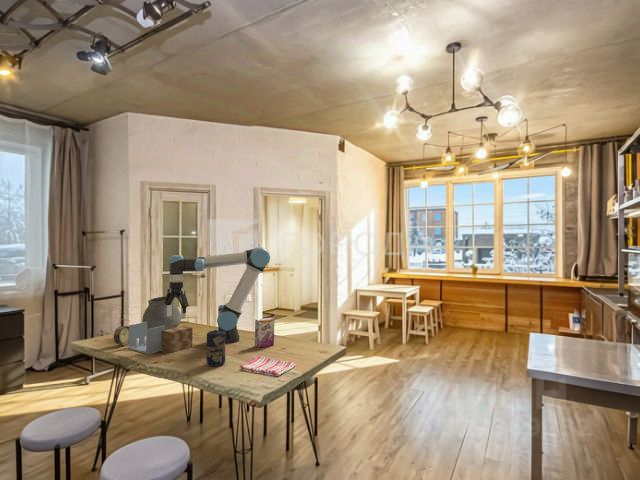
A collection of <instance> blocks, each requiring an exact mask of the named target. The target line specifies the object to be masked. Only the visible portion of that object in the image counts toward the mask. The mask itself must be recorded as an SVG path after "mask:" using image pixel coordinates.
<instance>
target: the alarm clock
mask: <svg viewBox="0 0 640 480" xmlns="http://www.w3.org/2000/svg"><path fill="white" fill-rule="evenodd" d="M122 321H125V319H123V318H122V319H121V320H120V325H121V326H118V327H117V328H116V329H115V330H114V332H113V340H114V343H115V344H117V345H118V348H120V346H121V345H124V346H125V345H129V325H124V324H125V322H123V323H122Z"/></svg>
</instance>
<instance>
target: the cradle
mask: <svg viewBox="0 0 640 480" xmlns="http://www.w3.org/2000/svg"><path fill="white" fill-rule="evenodd" d="M128 326H129V344H128V350H131V351H134V352H139V353H142V354H144V355H150V354H154V353H158V352H162V331H163V330H165V326H159V327H155V328H150V329H147V322H143V323H142V322H138V323H135V324H129V325H128Z"/></svg>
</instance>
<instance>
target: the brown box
mask: <svg viewBox="0 0 640 480" xmlns="http://www.w3.org/2000/svg"><path fill="white" fill-rule="evenodd" d="M191 348H193V327H191V326H187V325H182V326H178V327H177V328H172V329H168V330H163V331H162V351H161V352H163V353H167V354H170V355H171V354H174V353H177V352H180V351H184V350H185V351H186V350H188V349H191Z"/></svg>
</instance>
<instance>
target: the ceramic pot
mask: <svg viewBox="0 0 640 480" xmlns="http://www.w3.org/2000/svg"><path fill="white" fill-rule="evenodd" d="M165 299H166V296H160V297H159V296H158V297H153V298H150V299H149V300H147V303H148V305H147V307H146V309H145V311H144V313H143V316H142V321H141V323H143V322H147V329H150V328H155V327H159V326H165V330H168V329H172V328H177V327H179V325H180V323H181V320H182V319H181V310H180V309H179V308H178V306H177V305H176V303H175V298H174V299H173V301H172V303H171V304H172V316H168V317H167V305H166V304H164V302H165Z"/></svg>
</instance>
